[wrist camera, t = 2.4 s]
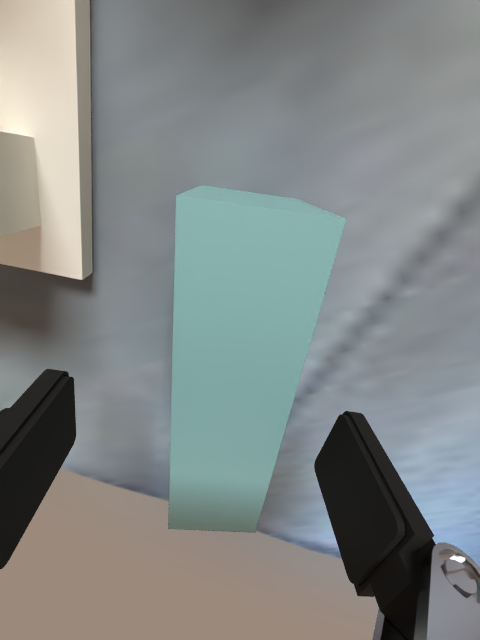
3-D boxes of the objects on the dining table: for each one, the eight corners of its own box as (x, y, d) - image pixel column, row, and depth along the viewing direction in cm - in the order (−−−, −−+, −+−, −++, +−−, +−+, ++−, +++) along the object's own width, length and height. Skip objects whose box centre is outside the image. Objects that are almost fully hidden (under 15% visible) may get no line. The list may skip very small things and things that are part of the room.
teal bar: (295, 198, 12) (346, 219, 7) (248, 428, 18) (255, 532, 13) (201, 184, 12) (175, 195, 6) (187, 424, 18) (168, 528, 13)
